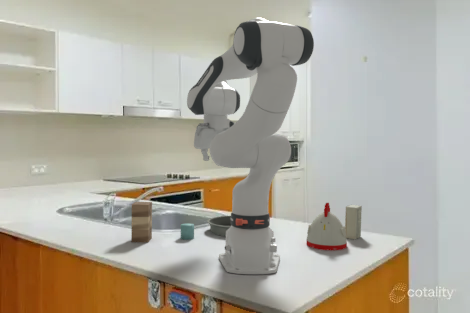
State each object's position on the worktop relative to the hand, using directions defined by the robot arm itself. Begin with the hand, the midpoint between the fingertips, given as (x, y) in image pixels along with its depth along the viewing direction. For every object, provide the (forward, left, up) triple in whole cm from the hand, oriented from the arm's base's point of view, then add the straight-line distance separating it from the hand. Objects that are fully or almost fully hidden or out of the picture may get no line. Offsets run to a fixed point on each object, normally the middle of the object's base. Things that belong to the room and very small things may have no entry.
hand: (214, 159), depth 154 cm
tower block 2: (-8, +26, -25) cm, 36 cm away
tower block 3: (-8, +26, -29) cm, 40 cm away
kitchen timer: (-12, -40, -30) cm, 51 cm away
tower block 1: (-8, +26, -20) cm, 33 cm away
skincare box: (0, -53, -29) cm, 61 cm away
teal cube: (-4, +10, -29) cm, 31 cm away
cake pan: (+10, -9, -30) cm, 33 cm away
